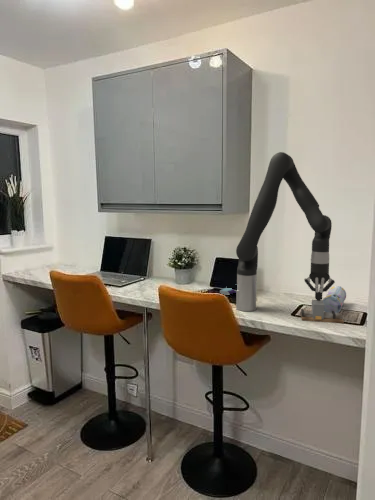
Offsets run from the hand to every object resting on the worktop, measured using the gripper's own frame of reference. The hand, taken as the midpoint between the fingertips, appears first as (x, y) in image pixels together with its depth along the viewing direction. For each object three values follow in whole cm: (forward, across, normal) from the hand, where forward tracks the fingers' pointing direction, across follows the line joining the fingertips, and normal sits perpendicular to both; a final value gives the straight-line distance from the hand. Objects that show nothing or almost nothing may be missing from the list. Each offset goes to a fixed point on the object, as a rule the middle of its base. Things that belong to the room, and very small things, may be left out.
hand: (318, 300), depth 160 cm
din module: (+7, 0, 0) cm, 7 cm away
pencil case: (+9, +9, +16) cm, 20 cm away
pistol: (+9, -40, +33) cm, 53 cm away
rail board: (+8, +1, 0) cm, 8 cm away
